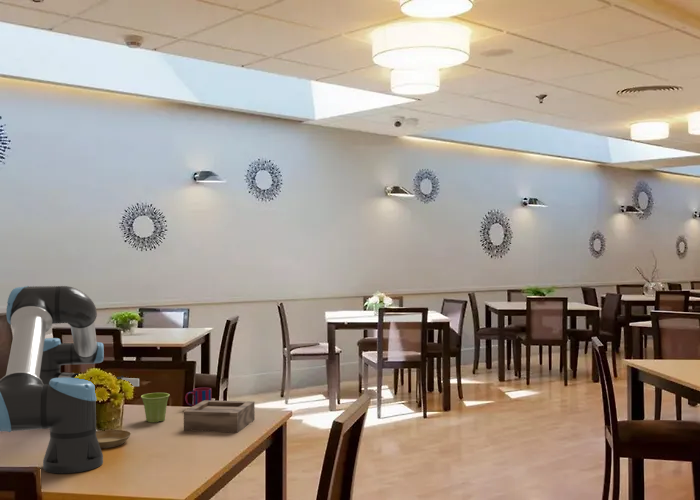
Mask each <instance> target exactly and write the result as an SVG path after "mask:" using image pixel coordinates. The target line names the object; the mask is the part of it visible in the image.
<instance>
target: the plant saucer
mask: <svg viewBox="0 0 700 500" xmlns="http://www.w3.org/2000/svg"><path fill="white" fill-rule="evenodd" d="M96 436H97V439H98V442H99V445H100V448H101V449H107V448H116V447H118V446H121V445H124V443H125V442H127V440H128V439H129V438H130V437H131V436H132V433H131V431H128V430H124V429H105V431H102V430H96Z"/></svg>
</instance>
